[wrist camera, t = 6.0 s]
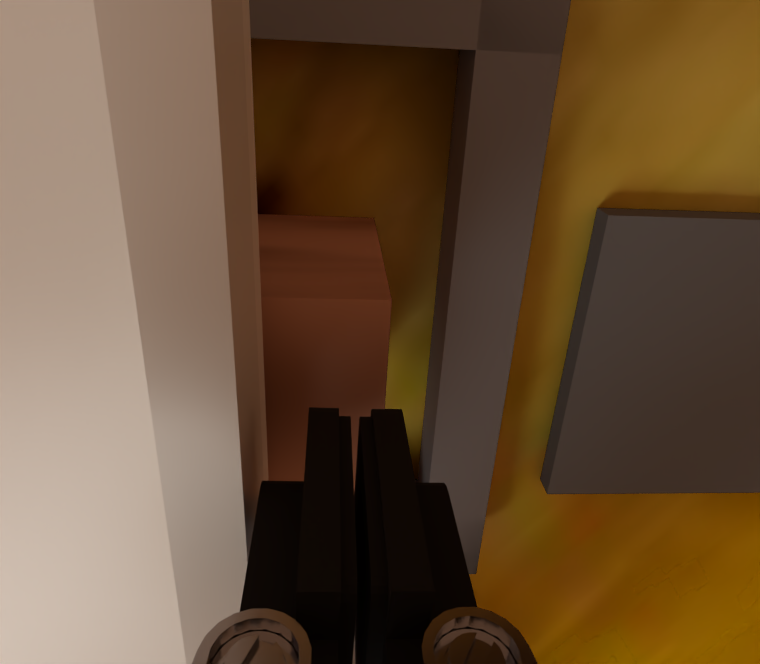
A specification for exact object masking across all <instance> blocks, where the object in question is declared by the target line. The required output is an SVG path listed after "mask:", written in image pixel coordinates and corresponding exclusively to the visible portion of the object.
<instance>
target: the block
mask: <svg viewBox="0 0 760 664" xmlns="http://www.w3.org/2000/svg"><path fill="white" fill-rule="evenodd" d="M258 232H259V257H260V282H261V307H262V331H263V356H264V381H265V406H266V430H267V455H268V480H269V481H304V472H305V458H306V443H307V429H308V414H309V407H318V408H339V416H351V435H352V459H353V482H354V491H355V476H356V461H357V446H358V431H359V419H360V416H362V417H370V416H371V410H372V409H385V396H386V381H387V366H388V351H389V335H390V320H391V305H392V299H391V294H390V289H389V285H388V280H387V276H386V271H385V266H384V262H383V257H382V253H381V248H380V243H379V239H378V234H377V230H376V225H375V220H374V218H365V217H334V216H303V215H273V214H258Z"/></svg>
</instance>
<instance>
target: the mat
mask: <svg viewBox="0 0 760 664" xmlns="http://www.w3.org/2000/svg"><path fill="white" fill-rule="evenodd" d="M540 480H541V482H542V484H543V486H544V488H545V490H546V493H547V494H625V493H754V492H760V213H739V212H709V211H678V210H647V209H616V208H597V212H596V217H595V221H594V226H593V231H592V236H591V240H590V245H589V250H588V255H587V259H586V264H585V269H584V274H583V278H582V283H581V288H580V293H579V297H578V302H577V307H576V312H575V316H574V321H573V326H572V331H571V335H570V340H569V345H568V350H567V355H566V359H565V364H564V369H563V374H562V378H561V383H560V388H559V393H558V397H557V402H556V407H555V412H554V416H553V421H552V426H551V431H550V435H549V440H548V445H547V450H546V454H545V459H544V464H543V469H542V473H541V478H540Z"/></svg>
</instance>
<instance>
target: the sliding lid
mask: <svg viewBox="0 0 760 664" xmlns="http://www.w3.org/2000/svg"><path fill="white" fill-rule="evenodd" d="M262 481H269V480H268V455H267V430H266V406H265V381H264V356H263V331H262V307H261V282H260V257H259V232H258V208H257V183H256V158H255V134H254V109H253V84H252V59H251V35H250V10H249V0H0V664H192V662H193V659H194V657H195V654H196V652H197V649H198V648H199V646H200V644H201V642H202V641H203V639H204V637H205V635H206V634H207V633H208V632H209V631H210V630H211V629H212V628H213V627H214V626H215V625H216V624H217V623H218V622H220V621H222V620H224V619H225V618H227V617H229V616H231V615H232V614H234V613H237V612H240V606H241V600H242V594H243V588H244V582H245V576H246V570H247V564H248V558H249V552H250V546H251V539H252V533H253V527H254V521H255V515H256V509H257V503H258V497H259V491H260V486H261V482H262Z"/></svg>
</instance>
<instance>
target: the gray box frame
mask: <svg viewBox="0 0 760 664" xmlns="http://www.w3.org/2000/svg"><path fill="white" fill-rule="evenodd" d="M570 3H571V0H249V10H250V35H251V38H258V39H276V40H295V41H314V42H333V43H351V44H370V45H389V46H407V47H426V48H445V49H460V50H459V60H458V70H457V81H456V91H455V101H454V112H453V122H452V132H451V142H450V153H449V163H448V173H447V184H446V194H445V204H444V214H443V225H442V235H441V245H440V256H439V266H438V276H437V286H436V297H435V307H434V317H433V328H432V338H431V348H430V358H429V369H428V379H427V389H426V400H425V410H424V420H423V430H422V441H421V451H420V461H419V472H418V480H415V482H423V483H445V485H446V486H447V489H448V492H449V496H450V500H451V504H452V508H453V512H454V516H455V520H456V524H457V528H458V532H459V536H460V540H461V544H462V548H463V552H464V556H465V560H466V564H467V569H468V573H469V574H476V571H477V565H478V559H479V553H480V547H481V541H482V535H483V529H484V523H485V517H486V511H487V505H488V499H489V493H490V486H491V480H492V474H493V468H494V462H495V456H496V450H497V444H498V438H499V432H500V426H501V420H502V414H503V408H504V402H505V396H506V390H507V384H508V378H509V372H510V366H511V360H512V353H513V347H514V341H515V335H516V329H517V323H518V317H519V311H520V305H521V299H522V293H523V287H524V281H525V275H526V269H527V263H528V257H529V251H530V245H531V239H532V233H533V227H534V221H535V214H536V208H537V202H538V196H539V190H540V184H541V178H542V172H543V166H544V160H545V154H546V148H547V142H548V136H549V130H550V124H551V118H552V112H553V106H554V100H555V94H556V88H557V81H558V75H559V69H560V63H561V57H562V51H563V45H564V39H565V33H566V27H567V21H568V15H569V9H570Z"/></svg>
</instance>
